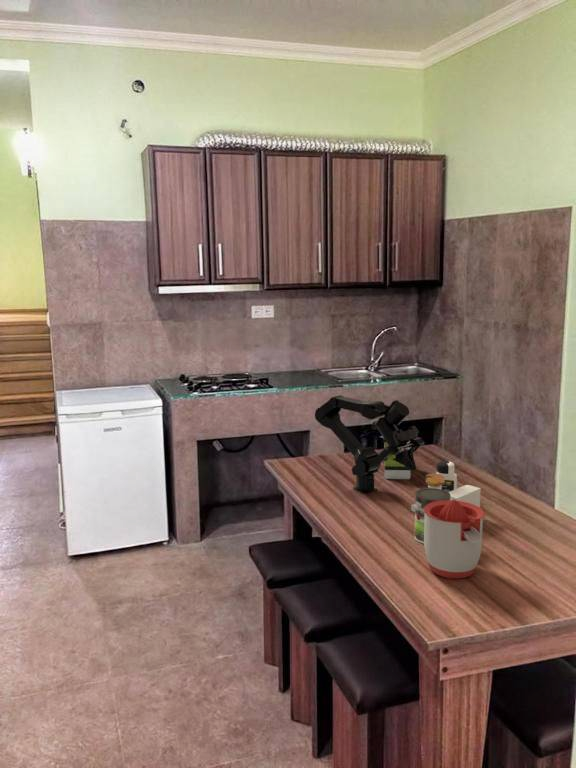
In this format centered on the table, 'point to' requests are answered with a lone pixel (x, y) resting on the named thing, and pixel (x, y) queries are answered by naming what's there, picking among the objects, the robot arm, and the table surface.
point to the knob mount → (463, 495)
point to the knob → (435, 481)
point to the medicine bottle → (447, 475)
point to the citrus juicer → (453, 537)
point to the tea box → (395, 468)
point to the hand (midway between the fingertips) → (415, 470)
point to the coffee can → (421, 501)
